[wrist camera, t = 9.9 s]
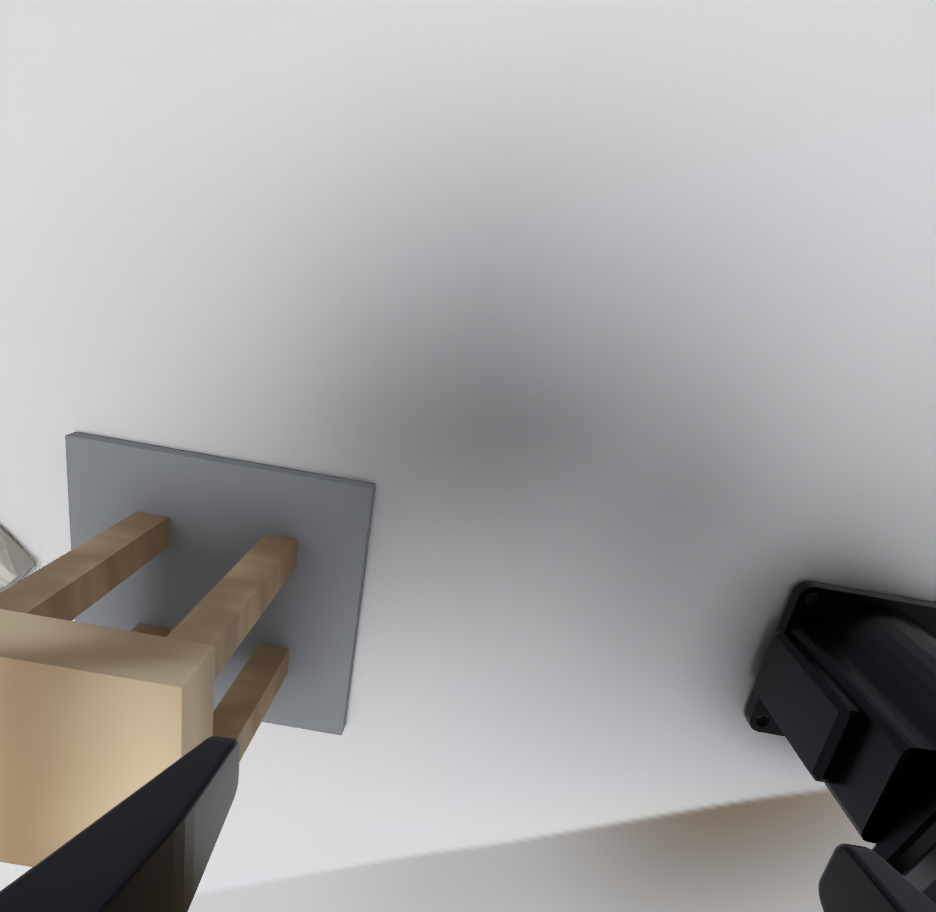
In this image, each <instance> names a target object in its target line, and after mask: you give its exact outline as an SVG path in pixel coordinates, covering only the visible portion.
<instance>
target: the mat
mask: <svg viewBox="0 0 936 912" xmlns="http://www.w3.org/2000/svg"><path fill="white" fill-rule="evenodd" d="M65 440H66V459H67V478H68V497H69V516H70V535H71V550H73V549H75V548H76V547H78V546H80V545H81V544H83V543H85V542H86V541H88V540H90V539H91V538H93V537H95V536H96V535H98V534H100V533H101V532H103V531H105V530H106V529H108V528H110V527H111V526H113V525H115V524H116V523H118V522H120V521H121V520H123V519H125V518H127V517H128V516H130V515H132V514H133V513H135V512H137V511H138V512H144V513H150V514H156V515H161V516H167V517H169V547H167V548H166V549H165V550H163V551H162V552H161V553H159V554H158V555H157V556H156V557H154V558H153V559H152V560H150V561H149V562H148V563H146V564H145V565H144V566H142V567H141V568H140V569H139V570H137V571H136V572H135V573H133V574H132V575H131V576H129V577H128V578H127V579H125V580H124V581H123V582H121V583H120V584H119V585H118V586H116V587H115V588H114V589H112V590H111V591H110V592H108V593H107V594H106V595H104V596H103V597H102V598H101V599H99V600H98V601H97V602H95V603H94V604H93V605H91V606H90V607H89V608H87V609H86V610H85V611H84V612H82V613H81V614H80V615H78V616H77V617H76V618H75V622H80V623H86V624H92V625H98V626H104V627H109V628H115V629H121V630H127V631H131V630H132V629H133V628H134V627H135V626H136V625H137V624H138V623H141V624H147V625H153V626H158V627H164V628H169V633H170V632H171V631H172V630H173V629H174V628H175V627H176V626H177V625H178V624H179V623H180V622H181V621H182V620H183V619H184V618H185V617H186V616H187V615H188V614H189V613H190V612H191V611H192V609H193V608H194V607H195V606H196V605H197V604H198V603H199V602H200V601H201V600H202V599H203V598H204V597H205V596H206V595H207V594H208V593H209V592H210V591H211V590H212V589H213V588H214V587H215V586H216V585H217V584H218V583H219V582H220V581H221V579H222V578H223V577H224V576H225V575H226V574H227V573H228V572H229V571H230V570H231V569H232V568H233V567H234V566H235V565H236V564H237V563H238V562H239V561H240V560H241V559H242V558H243V557H244V556H245V555H246V554H247V553H248V552H249V551H250V549H251V548H252V547H253V546H254V545H255V544H256V543H257V542H258V541H259V540H260V539H261V538H262V537H263V536H264V535H265V534H272V535H278V536H284V537H290V538H296V539H298V549H297V561H296V568H295V570H294V571H293V573H292V574H291V575H290V577H289V578H288V579H287V581H286V582H285V583H284V585H283V586H282V588H281V589H280V590H279V592H278V593H277V594H276V596H275V597H274V599H273V600H272V601H271V603H270V604H269V605H268V607H267V608H266V609H265V611H264V612H263V614H262V615H261V616H260V618H259V619H258V620H257V622H256V623H255V624H254V626H253V627H252V629H251V630H250V631H249V633H248V634H247V635H246V637H245V638H244V639H243V641H242V642H241V644H240V645H239V646H238V648H237V649H236V650H235V652H234V653H233V655H232V656H231V657H230V659H229V660H228V661H227V663H226V664H225V665H224V667H223V668H222V670H221V671H220V672H219V674H218V675H217V676H216V678H215V679H214V708H213V711H214V710H215V708H216V707H217V705H218V704H219V702H220V701H221V699H222V698H223V697H224V695H225V694H226V692H227V691H228V689H229V688H230V686H231V685H232V683H233V682H234V680H235V679H236V677H237V676H238V674H239V673H240V671H241V670H242V668H243V667H244V666H245V664H246V663H247V661H248V660H249V658H250V657H251V655H252V654H253V652H254V651H255V649H256V648H257V646H258V645H259V644H264V645H270V646H276V647H282V648H287V649H289V660H288V673H287V676H286V678H285V679H284V681H283V683H282V685H281V687H280V689H279V690H278V692H277V694H276V696H275V698H274V699H273V701H272V703H271V705H270V707H269V709H268V710H267V712H266V714H265V716H264V718H263V720H262V722H267V723H273V724H279V725H285V726H291V727H297V728H302V729H308V730H314V731H320V732H326V733H331V734H337V735H342V733H343V730H344V727H345V722H346V714H347V706H348V698H349V690H350V682H351V674H352V666H353V658H354V649H355V641H356V633H357V625H358V617H359V609H360V601H361V593H362V585H363V577H364V569H365V561H366V553H367V545H368V537H369V529H370V521H371V513H372V505H373V497H374V489H375V484H372V483H366V482H360V481H355V480H349V479H343V478H337V477H332V476H326V475H320V474H314V473H309V472H303V471H297V470H291V469H286V468H280V467H274V466H268V465H263V464H257V463H251V462H245V461H240V460H234V459H228V458H222V457H217V456H211V455H205V454H199V453H194V452H188V451H182V450H176V449H171V448H165V447H159V446H153V445H148V444H142V443H136V442H130V441H125V440H119V439H113V438H108V437H102V436H96V435H90V434H85V433H79V432H74V433H71V434H68V435H65Z"/></svg>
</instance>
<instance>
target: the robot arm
mask: <svg viewBox="0 0 936 912" xmlns="http://www.w3.org/2000/svg"><path fill="white" fill-rule="evenodd" d="M810 593H813V595H812V596H811V597H810V598H809V599H805V597H806V596H807V595H808V594H810ZM761 716H763V717H762V718H760V719H758V718H759V717H761ZM745 717H746V720H747V722H748V723H749V725H750V726H751V728H752V729H753V730H755V731H758V732H764V733H769V734H775V735H781V736H785V737H786V738H787V740H788V741H789V743H790V744H791V746H792V747H793V749H794V750H795V752H796V753H797V755H798V756H799V758H800V759H801V761H802V762H803V764H804V765H805V767H806V768H807V770H808V771H809V773H810V774H811V776H812V777H813V778H814V779H815V780H816V781H820V782H824V783H825V784H826V786H827V787H828V789H829V790H830V792H831V793H832V795H833V796H834V798H835V799H836V801H837V802H838V803H839V805H840V806H841V808H842V809H843V811H844V812H845V814H846V815H847V817H848V818H849V820H850V821H851V822H852V824H853V825H854V827H855V828H856V830H857V831H858V833H859V834H860V836H861V837H862V839H863V840H865V841H867V842H871V843H877V844H876V845H875V846H874V847H873V848H872V849H869V848H866V847H861V846H856V845H850V844H840V845H838V846H837V847H836V848H835V850H834V852H833V854H832V856H831V858H830V860H829V862H828V864H827V866H826V868H825V870H824V872H823V874H822V876H821V878H820V881H819V896H820V901H821V904H822V907H823V910H824V912H936V603H932V602H926V601H921V600H915V599H909V598H903V597H898V596H892V595H886V594H880V593H875V592H869V591H863V590H857V589H852V588H846V587H840V586H834V585H829V584H823V583H817V582H811V581H805V582H802V583H799V584H798V585H797V586H795V588H794V589H793V591H792V594H791V596H790V599H789V601H788V604H787V606H786V609H785V611H784V614H783V617H782V619H781V622H780V624H779V627H778V629H777V632H776V634H775V635H774V636H773V639H772V641H771V644H770V646H769V649H768V652H767V654H766V657H765V659H764V662H763V664H762V667H761V670H760V672H759V675H758V677H757V680H756V682H755V685H754V691H753V694H752V696H751V699H750V701H749V704H748V706H747V709H746V711H745ZM239 758H240V744H239V741H238V740H236V739H233V738H227V737H221V736H211V737H209V738H207V739H205V740H204V741H203V742H201V743H200V744H199V745H197V746H196V747H195V748H193V749H192V750H191V751H189V752H188V753H187V754H185V755H184V756H183V757H181V758H180V759H178V760H177V761H176V762H174V763H173V764H172V765H170V766H169V767H168V768H166V769H165V770H164V771H162V772H161V773H160V774H158V775H157V776H156V777H154V778H153V779H151V780H150V781H149V782H147V783H146V784H145V785H143V786H142V787H141V788H139V789H138V790H137V791H135V792H134V793H133V794H131V795H130V796H129V797H127V798H126V799H124V800H123V801H122V802H120V803H119V804H118V805H116V806H115V807H114V808H112V809H111V810H110V811H108V812H107V813H106V814H104V815H103V816H101V817H100V818H99V819H97V820H96V821H95V822H93V823H92V824H91V825H89V826H88V827H87V828H85V829H84V830H83V831H81V832H80V833H79V834H77V835H76V836H74V837H73V838H72V839H70V840H69V841H68V842H66V843H65V844H64V845H62V846H61V847H60V848H58V849H57V850H56V851H54V852H53V853H52V854H50V855H49V856H47V857H46V858H45V859H43V860H42V861H41V862H39V863H38V864H37V865H35V866H34V867H33V868H31V869H30V870H29V871H27V872H26V873H24V874H23V875H22V876H20V877H19V878H18V879H16V880H15V881H14V882H12V883H11V884H10V885H8V886H7V887H6V888H4V889H3V890H2V891H0V912H187V911H188V909H189V906H190V904H191V902H192V900H193V897H194V895H195V892H196V890H197V887H198V885H199V883H200V880H201V878H202V875H203V873H204V870H205V868H206V866H207V863H208V861H209V858H210V856H211V853H212V851H213V848H214V846H215V844H216V841H217V839H218V836H219V834H220V831H221V829H222V827H223V824H224V822H225V819H226V817H227V814H228V812H229V809H230V807H231V805H232V802H233V800H234V797H235V794H236V790H237V786H238V776H239Z"/></svg>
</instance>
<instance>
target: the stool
mask: <svg viewBox="0 0 936 912" xmlns="http://www.w3.org/2000/svg"><path fill="white" fill-rule="evenodd" d="M167 547H169V517H167V516H161V515H156V514H150V513H144V512H138V511H137V512H135V513H133V514H132V515H130V516H128V517H127V518H125V519H123V520H121V521H120V522H118V523H116V524H115V525H113V526H111V527H110V528H108V529H106V530H105V531H103V532H101V533H100V534H98V535H96V536H95V537H93V538H91V539H90V540H88V541H86V542H85V543H83V544H81V545H80V546H78V547H76V548H75V549H73V550H71V551H70V552H68V553H66V554H65V555H63V556H61V557H60V558H58V559H56V560H55V561H53V562H51V563H49V564H48V565H46V566H44V567H43V568H41V569H39V570H38V571H36V572H34V573H33V574H31V575H29V576H28V577H26V578H24V579H23V580H21V581H19V582H18V583H16V584H14V585H13V586H11V587H9V588H8V589H6V590H4V591H3V592H1V593H0V862H5V863H11V864H17V865H23V866H29V867H34V866H35V865H37V864H38V863H39V862H41V861H42V860H43V859H45V858H46V857H47V856H49V855H50V854H52V853H53V852H54V851H56V850H57V849H58V848H60V847H61V846H62V845H64V844H65V843H66V842H68V841H69V840H70V839H72V838H73V837H74V836H76V835H77V834H79V833H80V832H81V831H83V830H84V829H85V828H87V827H88V826H89V825H91V824H92V823H93V822H95V821H96V820H97V819H99V818H100V817H101V816H103V815H104V814H106V813H107V812H108V811H110V810H111V809H112V808H114V807H115V806H116V805H118V804H119V803H120V802H122V801H123V800H124V799H126V798H127V797H129V796H130V795H131V794H133V793H134V792H135V791H137V790H138V789H139V788H141V787H142V786H143V785H145V784H146V783H147V782H149V781H150V780H151V779H153V778H154V777H156V776H157V775H158V774H160V773H161V772H162V771H164V770H165V769H166V768H168V767H169V766H170V765H172V764H173V763H174V762H176V761H177V760H178V759H180V758H181V757H183V756H184V755H185V754H187V753H188V752H189V751H191V750H192V749H193V748H195V747H196V746H197V745H199V744H200V743H201V742H203V741H204V740H205V739H207V738H209V737H211V736H221V737H227V738H233V739H236V740H238V741H239V744H240V758H239V762H240V760H241V758H242V756H243V754H244V752H245V751H246V749H247V747H248V745H249V743H250V741H251V740H252V738H253V736H254V734H255V732H256V730H257V729H258V727H259V725H260V723H261V721H262V720H263V718H264V716H265V714H266V712H267V710H268V709H269V707H270V705H271V703H272V701H273V699H274V698H275V696H276V694H277V692H278V690H279V689H280V687H281V685H282V683H283V681H284V679H285V678H286V676H287V673H288V660H289V649H287V648H282V647H276V646H270V645H264V644H259V645H258V646H257V648H256V649H255V651H254V652H253V654H252V655H251V657H250V658H249V660H248V661H247V663H246V664H245V666H244V667H243V668H242V670H241V671H240V673H239V674H238V676H237V677H236V679H235V680H234V682H233V683H232V685H231V686H230V688H229V689H228V691H227V692H226V694H225V695H224V697H223V698H222V699H221V701H220V702H219V704H218V705H217V707H216V708H215V710H214V711H213V708H214V679H215V678H216V676H217V675H218V674H219V672H220V671H221V670H222V668H223V667H224V665H225V664H226V663H227V661H228V660H229V659H230V657H231V656H232V655H233V653H234V652H235V650H236V649H237V648H238V646H239V645H240V644H241V642H242V641H243V639H244V638H245V637H246V635H247V634H248V633H249V631H250V630H251V629H252V627H253V626H254V624H255V623H256V622H257V620H258V619H259V618H260V616H261V615H262V614H263V612H264V611H265V609H266V608H267V607H268V605H269V604H270V603H271V601H272V600H273V599H274V597H275V596H276V594H277V593H278V592H279V590H280V589H281V588H282V586H283V585H284V583H285V582H286V581H287V579H288V578H289V577H290V575H291V574H292V573H293V571H294V570H295V568H296V561H297V549H298V539H296V538H290V537H284V536H278V535H272V534H265V535H264V536H263V537H262V538H261V539H260V540H259V541H258V542H257V543H256V544H255V545H254V546H253V547H252V548H251V549H250V551H249V552H248V553H247V554H246V555H245V556H244V557H243V558H242V559H241V560H240V561H239V562H238V563H237V564H236V565H235V566H234V567H233V568H232V569H231V570H230V571H229V572H228V573H227V574H226V575H225V576H224V577H223V578H222V579H221V581H220V582H219V583H218V584H217V585H216V586H215V587H214V588H213V589H212V590H211V591H210V592H209V593H208V594H207V595H206V596H205V597H204V598H203V599H202V600H201V601H200V602H199V603H198V604H197V605H196V606H195V607H194V608H193V609H192V611H191V612H190V613H189V614H188V615H187V616H186V617H185V618H184V619H183V620H182V621H181V622H180V623H179V624H178V625H177V626H176V627H175V628H174V629H173V630H172V631H171V632H170V633H169V628H164V627H158V626H153V625H147V624H141V623H138V624H137V625H136V626H135V627H134V628H133V629H132V630H131V631H127V630H121V629H115V628H109V627H104V626H98V625H92V624H86V623H80V622H74V621H72V620H73V619H74V618H76V617H77V616H78V615H80V614H81V613H82V612H84V611H85V610H86V609H87V608H89V607H90V606H91V605H93V604H94V603H95V602H97V601H98V600H99V599H101V598H102V597H103V596H104V595H106V594H107V593H108V592H110V591H111V590H112V589H114V588H115V587H116V586H118V585H119V584H120V583H121V582H123V581H124V580H125V579H127V578H128V577H129V576H131V575H132V574H133V573H135V572H136V571H137V570H139V569H140V568H141V567H142V566H144V565H145V564H146V563H148V562H149V561H150V560H152V559H153V558H154V557H156V556H157V555H158V554H159V553H161V552H162V551H163V550H165V549H166V548H167Z"/></svg>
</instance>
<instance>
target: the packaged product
mask: <svg viewBox="0 0 936 912" xmlns="http://www.w3.org/2000/svg"><path fill="white" fill-rule="evenodd" d="M35 563H36V562H35V561H34V560H33V559H32V558H31V557H30V555H29V554H28V553H27V552H26V551H25V550H24V549H23V548H22V547H21V546H20V545H19V544H18V543H17V542H16V541H15V540H14V539H13V538H12V537H11V536H10V535H9V534H8V533H7V532H6V531H5V530H4V529H3V528H2V527H1V526H0V593H1V592H3V591H4V590H6V589H8V588H9V587H11V586H13V585H14V584H16V583H17V582H18V581H19V580H20V579H21V578H22V577H23V576H24V575H25V574H26V573H27V572H28V571H29V570H30V569H31V567H32V566H33V565H34V564H35Z"/></svg>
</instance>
